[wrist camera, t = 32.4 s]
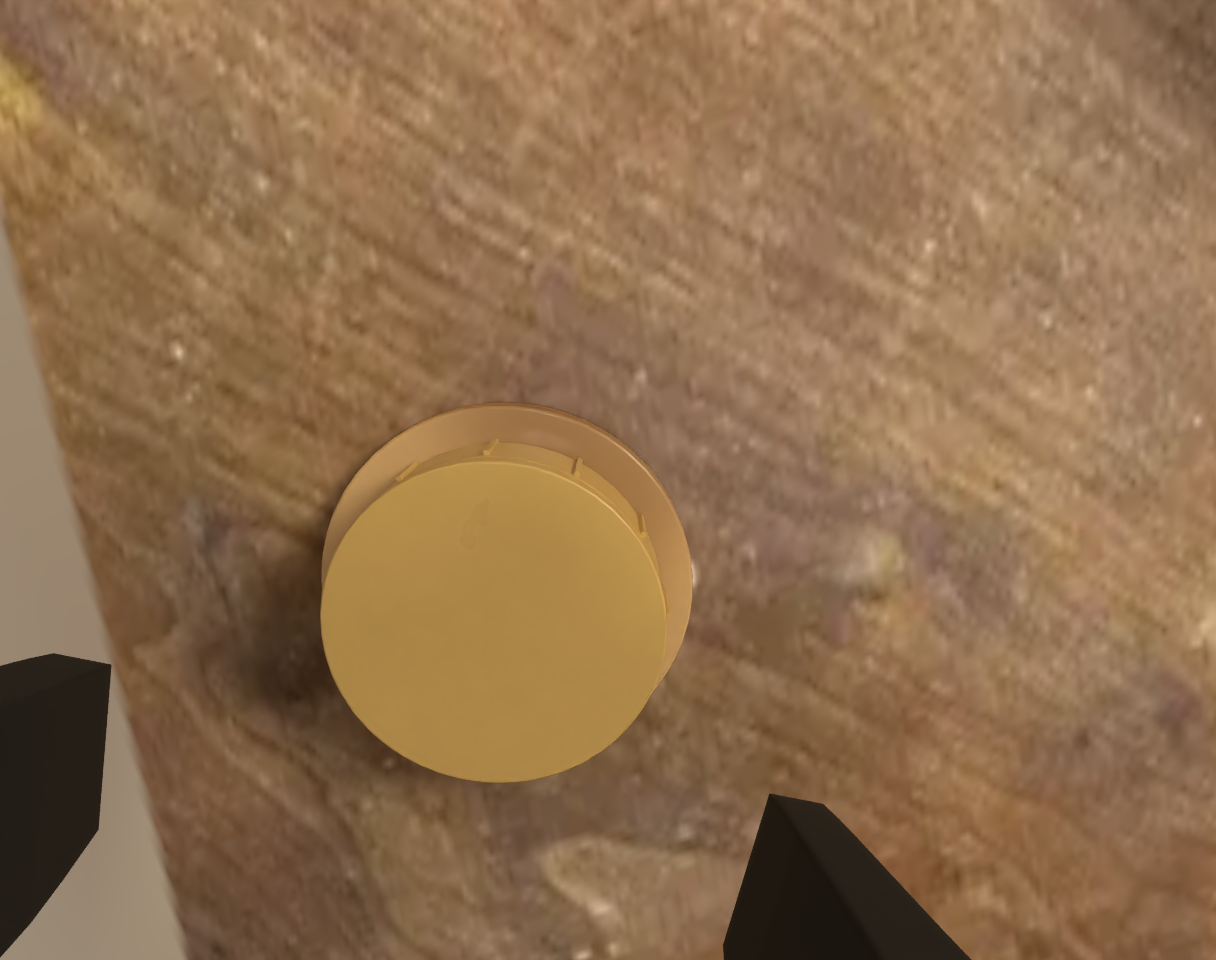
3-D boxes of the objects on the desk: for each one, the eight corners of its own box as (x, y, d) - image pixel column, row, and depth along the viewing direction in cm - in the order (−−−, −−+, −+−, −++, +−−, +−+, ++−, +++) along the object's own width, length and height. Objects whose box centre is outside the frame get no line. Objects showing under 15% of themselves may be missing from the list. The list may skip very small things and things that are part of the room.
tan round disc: (384, 769, 16) (377, 784, 16) (283, 444, 15) (271, 449, 14) (718, 706, 16) (722, 719, 15) (652, 366, 14) (654, 368, 14)
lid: (620, 759, 16) (621, 813, 14) (329, 697, 15) (296, 745, 14) (695, 482, 14) (707, 506, 13) (378, 408, 14) (348, 423, 12)
